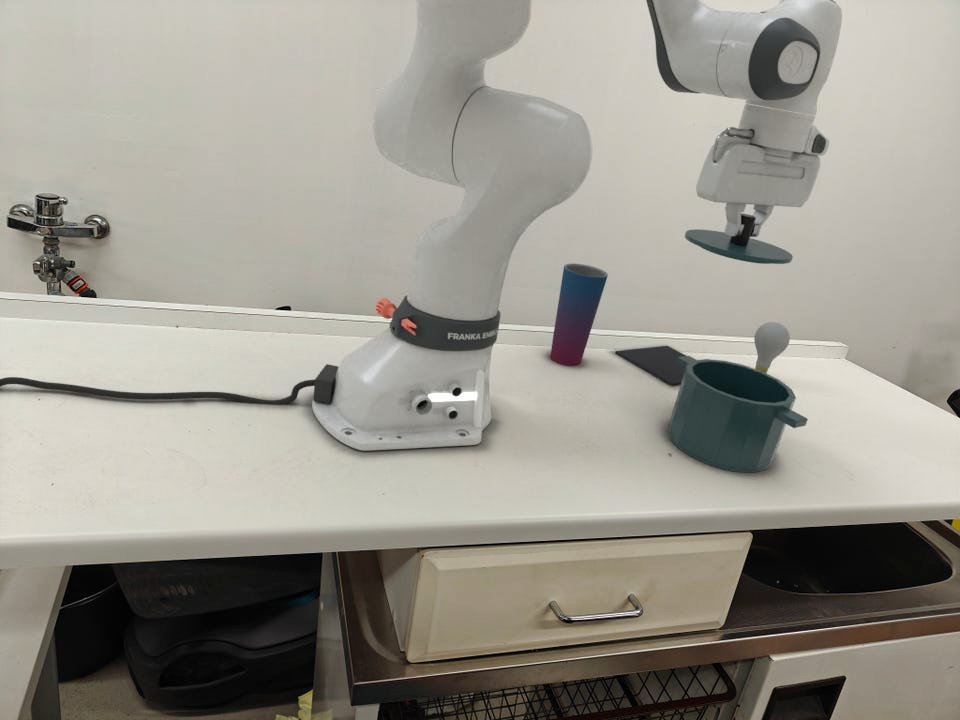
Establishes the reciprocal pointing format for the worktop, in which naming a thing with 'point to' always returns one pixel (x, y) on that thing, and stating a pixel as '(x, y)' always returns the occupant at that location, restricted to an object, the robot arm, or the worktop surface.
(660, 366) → the plate
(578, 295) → the cup
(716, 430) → the pot
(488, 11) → the robot arm
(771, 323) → the light bulb
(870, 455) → the worktop surface
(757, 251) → the lid
